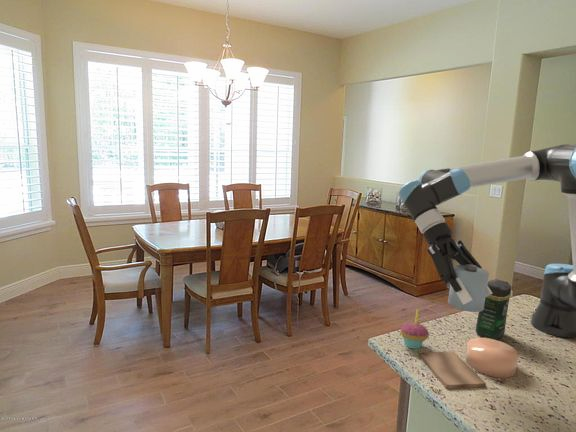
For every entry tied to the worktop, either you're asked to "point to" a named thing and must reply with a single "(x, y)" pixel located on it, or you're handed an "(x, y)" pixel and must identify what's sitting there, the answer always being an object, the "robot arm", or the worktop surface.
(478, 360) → the peach round dome
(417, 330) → the cupcake
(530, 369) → the worktop surface
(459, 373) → the mat
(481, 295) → the blue-grey knobbed jar
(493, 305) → the coffee jar
